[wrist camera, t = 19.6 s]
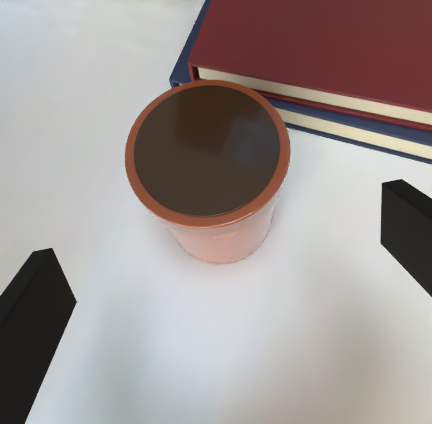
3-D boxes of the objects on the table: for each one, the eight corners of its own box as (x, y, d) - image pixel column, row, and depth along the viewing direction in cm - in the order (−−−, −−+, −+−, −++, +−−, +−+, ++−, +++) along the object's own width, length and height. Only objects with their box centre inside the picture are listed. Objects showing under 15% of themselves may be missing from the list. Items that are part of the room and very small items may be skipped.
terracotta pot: (150, 246, 26) (95, 197, 17) (189, 153, 28) (160, 62, 19) (255, 282, 25) (261, 251, 15) (287, 181, 27) (310, 97, 17)
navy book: (175, 99, 30) (168, 79, 28) (231, -27, 34) (230, -55, 32) (447, 169, 26) (468, 153, 24) (474, 17, 31) (494, -10, 28)
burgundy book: (191, 82, 28) (186, 62, 26) (240, -46, 32) (240, -73, 29) (467, 139, 24) (488, 121, 22) (483, -12, 28) (502, -39, 26)
